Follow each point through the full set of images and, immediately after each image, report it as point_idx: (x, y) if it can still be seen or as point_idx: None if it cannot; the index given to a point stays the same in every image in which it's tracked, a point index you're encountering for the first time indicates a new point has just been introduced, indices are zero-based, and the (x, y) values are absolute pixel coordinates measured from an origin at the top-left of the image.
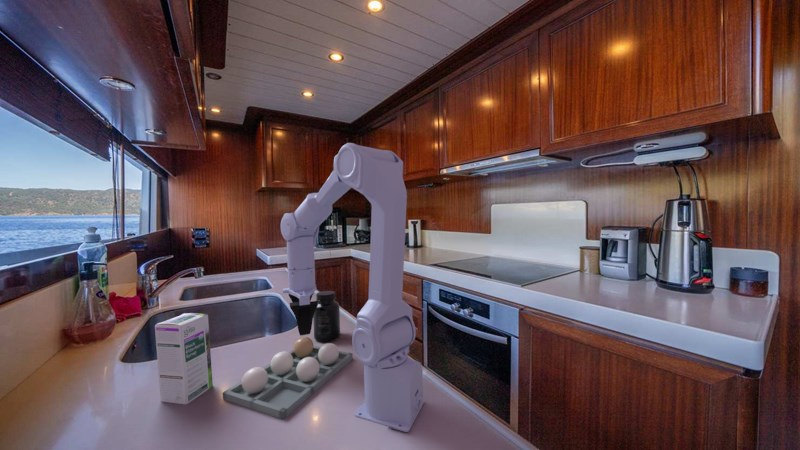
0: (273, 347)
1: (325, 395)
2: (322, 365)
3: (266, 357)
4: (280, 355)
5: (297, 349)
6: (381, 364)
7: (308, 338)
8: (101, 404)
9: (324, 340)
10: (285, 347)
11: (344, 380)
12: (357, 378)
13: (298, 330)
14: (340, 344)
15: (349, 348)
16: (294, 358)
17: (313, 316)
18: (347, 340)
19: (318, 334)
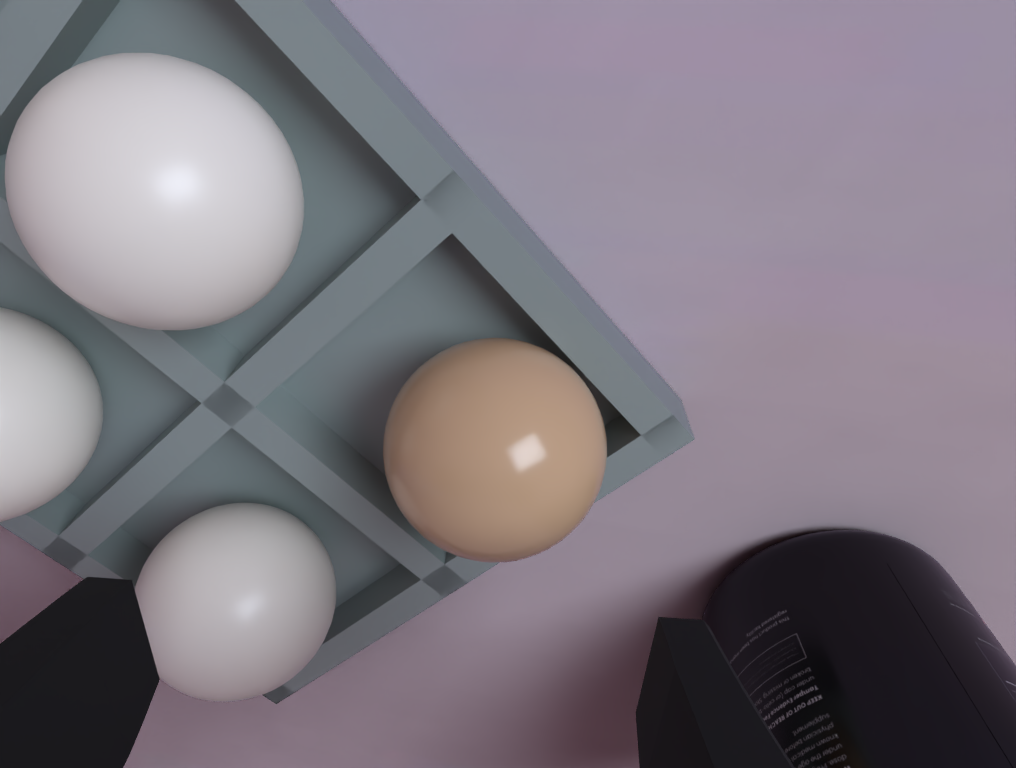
0: (1004, 108)
1: None
2: (138, 508)
3: (758, 3)
4: (35, 214)
5: (405, 393)
6: None
7: (472, 557)
8: None
9: (718, 593)
10: (886, 247)
11: (35, 558)
12: None
13: (20, 630)
14: (606, 656)
15: (498, 684)
16: (503, 309)
17: (985, 754)
18: None
19: (783, 602)
